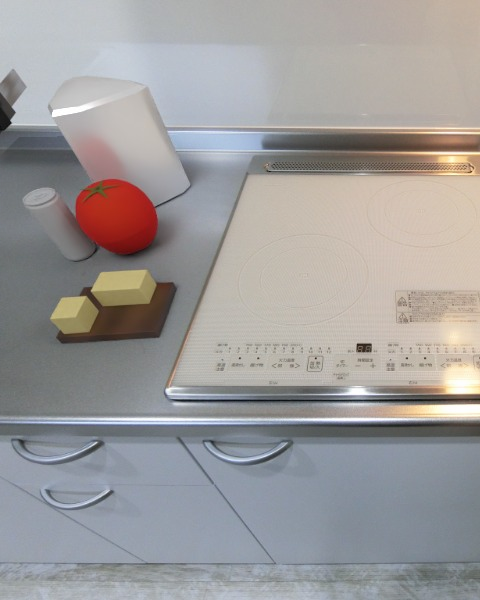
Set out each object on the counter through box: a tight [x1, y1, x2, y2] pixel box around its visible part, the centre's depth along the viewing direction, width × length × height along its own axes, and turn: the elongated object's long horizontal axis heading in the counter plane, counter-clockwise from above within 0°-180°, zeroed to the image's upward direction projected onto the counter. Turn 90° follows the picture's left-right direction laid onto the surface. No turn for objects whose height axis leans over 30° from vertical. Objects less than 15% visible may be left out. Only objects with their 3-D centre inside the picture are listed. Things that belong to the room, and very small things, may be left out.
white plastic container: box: [47, 75, 191, 207], centre depth 79 cm, size 15×14×22 cm
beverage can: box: [21, 187, 96, 262], centre depth 72 cm, size 5×5×12 cm
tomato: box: [74, 179, 159, 255], centre depth 73 cm, size 11×11×13 cm
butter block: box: [91, 269, 157, 306], centre depth 67 cm, size 7×4×4 cm, turn 94°
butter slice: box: [49, 295, 99, 334], centre depth 63 cm, size 4×4×4 cm
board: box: [55, 281, 177, 344], centre depth 67 cm, size 14×10×2 cm
